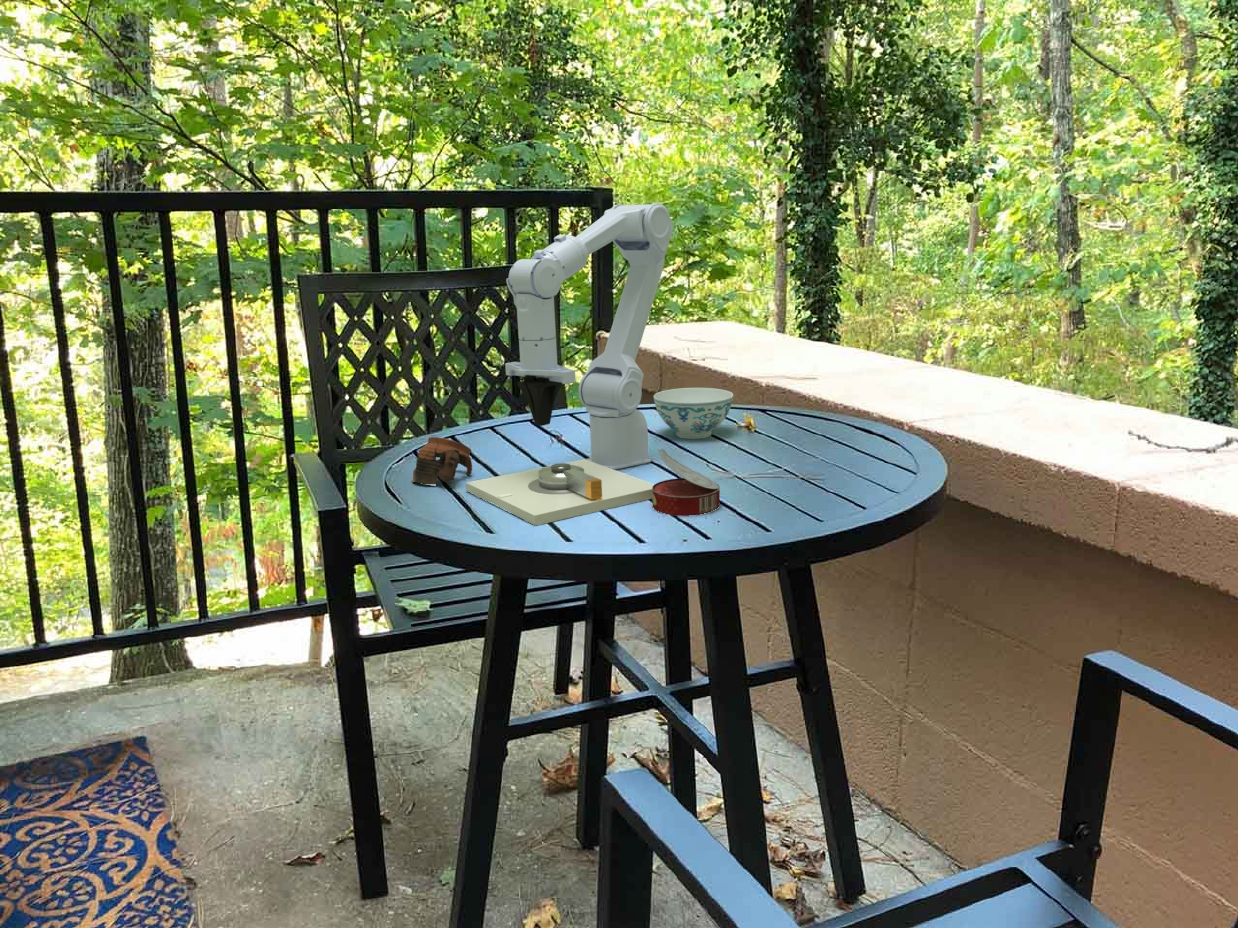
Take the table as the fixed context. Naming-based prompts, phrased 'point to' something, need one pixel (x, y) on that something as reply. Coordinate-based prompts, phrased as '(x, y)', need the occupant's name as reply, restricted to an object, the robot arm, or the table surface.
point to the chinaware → (693, 410)
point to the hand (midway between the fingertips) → (542, 424)
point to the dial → (570, 480)
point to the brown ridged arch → (441, 460)
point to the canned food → (685, 491)
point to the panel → (559, 493)
